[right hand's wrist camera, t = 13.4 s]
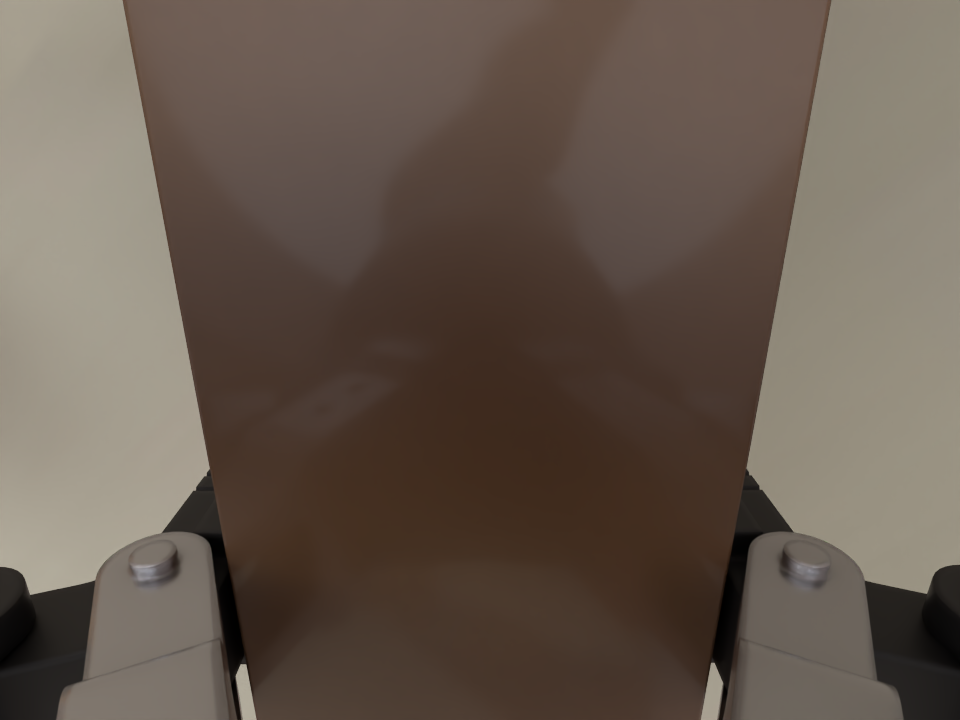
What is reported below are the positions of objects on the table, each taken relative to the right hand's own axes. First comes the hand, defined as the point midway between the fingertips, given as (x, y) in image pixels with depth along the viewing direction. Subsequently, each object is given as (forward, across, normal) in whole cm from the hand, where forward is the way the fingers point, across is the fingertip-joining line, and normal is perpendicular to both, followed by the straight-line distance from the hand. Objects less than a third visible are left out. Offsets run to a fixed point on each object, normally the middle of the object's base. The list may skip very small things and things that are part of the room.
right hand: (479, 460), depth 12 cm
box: (+7, 0, +10) cm, 12 cm away
